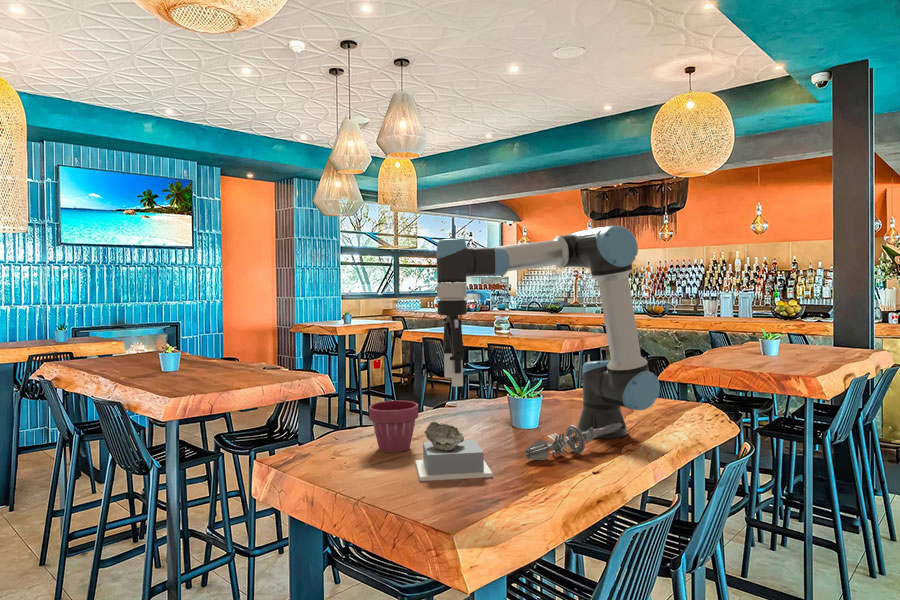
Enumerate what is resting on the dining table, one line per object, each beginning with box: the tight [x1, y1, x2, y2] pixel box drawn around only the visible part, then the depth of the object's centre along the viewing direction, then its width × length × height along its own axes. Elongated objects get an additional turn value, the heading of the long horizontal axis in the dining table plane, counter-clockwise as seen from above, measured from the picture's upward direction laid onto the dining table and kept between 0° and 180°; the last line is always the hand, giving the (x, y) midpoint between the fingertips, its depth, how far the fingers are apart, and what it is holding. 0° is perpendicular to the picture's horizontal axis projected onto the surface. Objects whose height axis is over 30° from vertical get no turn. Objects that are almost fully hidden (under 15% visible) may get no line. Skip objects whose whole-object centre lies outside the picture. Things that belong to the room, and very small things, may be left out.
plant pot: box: [368, 399, 419, 453], centre depth 172 cm, size 14×14×13 cm
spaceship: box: [523, 423, 622, 461], centre depth 165 cm, size 8×35×8 cm
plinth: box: [415, 439, 494, 482], centre depth 151 cm, size 18×14×6 cm
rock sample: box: [423, 421, 465, 451], centre depth 150 cm, size 11×8×9 cm
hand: (453, 381), depth 151 cm, fingers open, 13 cm apart
